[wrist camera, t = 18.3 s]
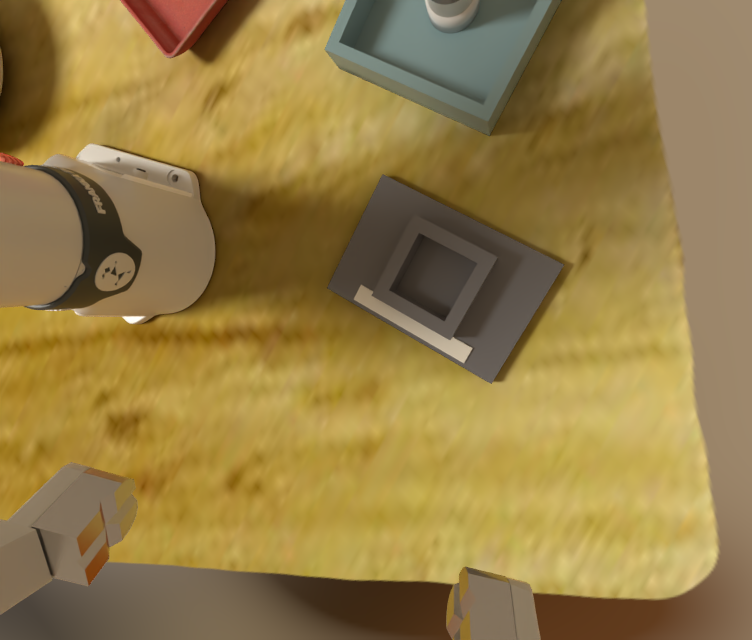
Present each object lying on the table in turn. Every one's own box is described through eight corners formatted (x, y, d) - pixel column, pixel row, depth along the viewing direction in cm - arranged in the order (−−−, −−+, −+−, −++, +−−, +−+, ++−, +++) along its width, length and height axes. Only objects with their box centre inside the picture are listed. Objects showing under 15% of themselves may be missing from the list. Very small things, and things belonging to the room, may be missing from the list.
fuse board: (330, 288, 43) (316, 288, 40) (385, 176, 41) (374, 167, 37) (491, 381, 40) (490, 390, 36) (562, 265, 37) (568, 263, 34)
